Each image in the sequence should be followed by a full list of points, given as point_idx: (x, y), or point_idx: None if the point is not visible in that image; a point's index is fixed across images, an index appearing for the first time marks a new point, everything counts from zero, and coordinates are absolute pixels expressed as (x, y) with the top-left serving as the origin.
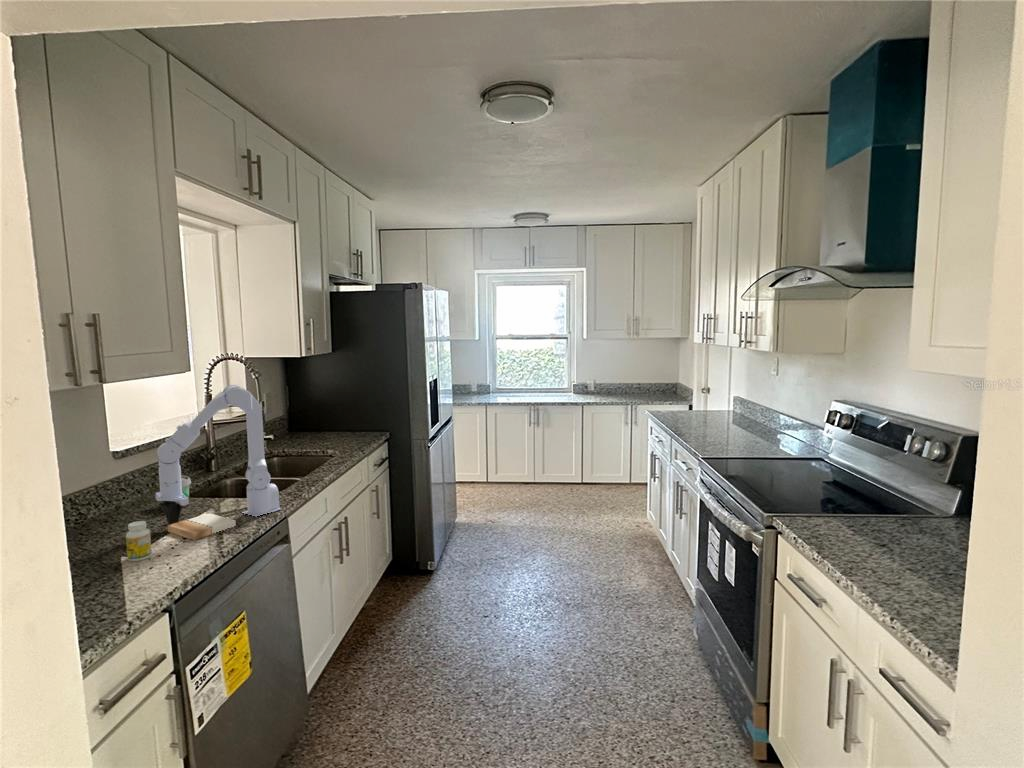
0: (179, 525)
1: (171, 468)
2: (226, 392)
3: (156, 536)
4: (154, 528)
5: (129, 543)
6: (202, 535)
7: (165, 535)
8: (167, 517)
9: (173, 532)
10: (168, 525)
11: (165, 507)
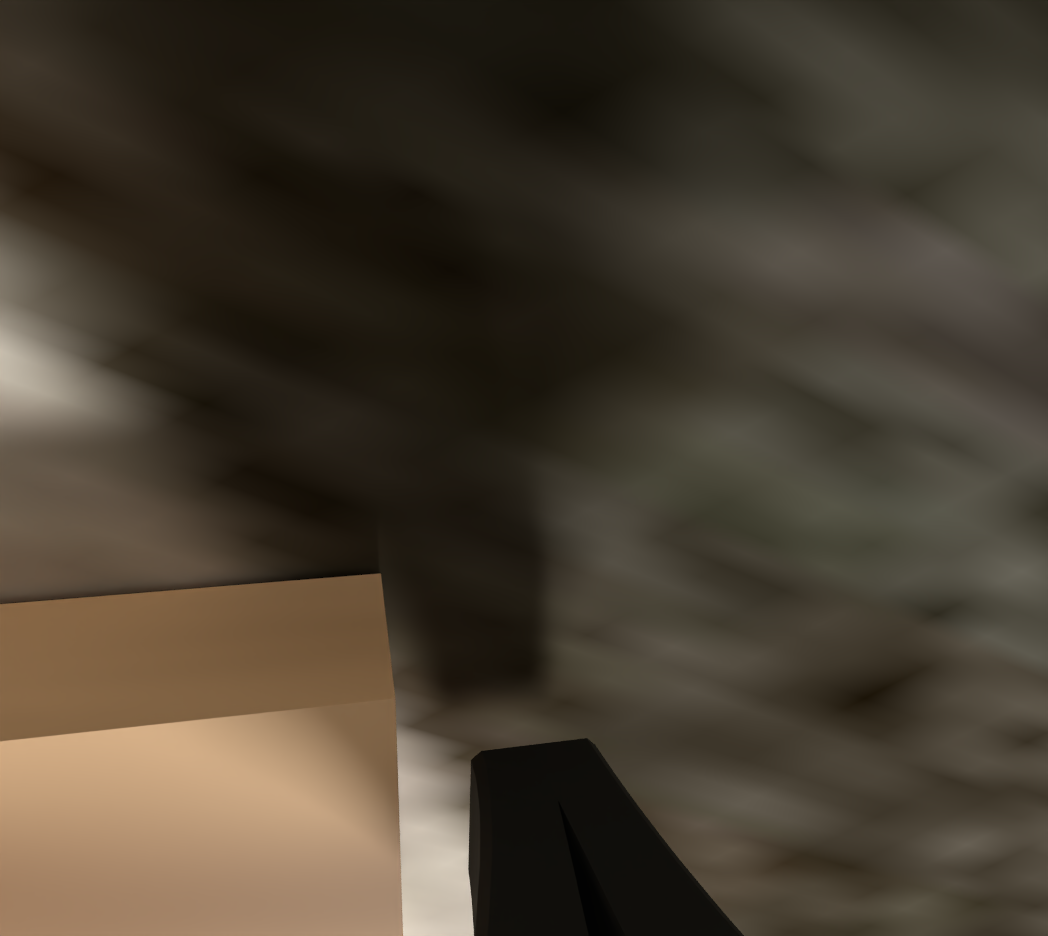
0: (23, 873)
1: None
2: None
3: (292, 241)
4: (937, 500)
5: None
6: None
7: (141, 421)
8: (626, 921)
9: (88, 614)
10: (350, 707)
11: None
